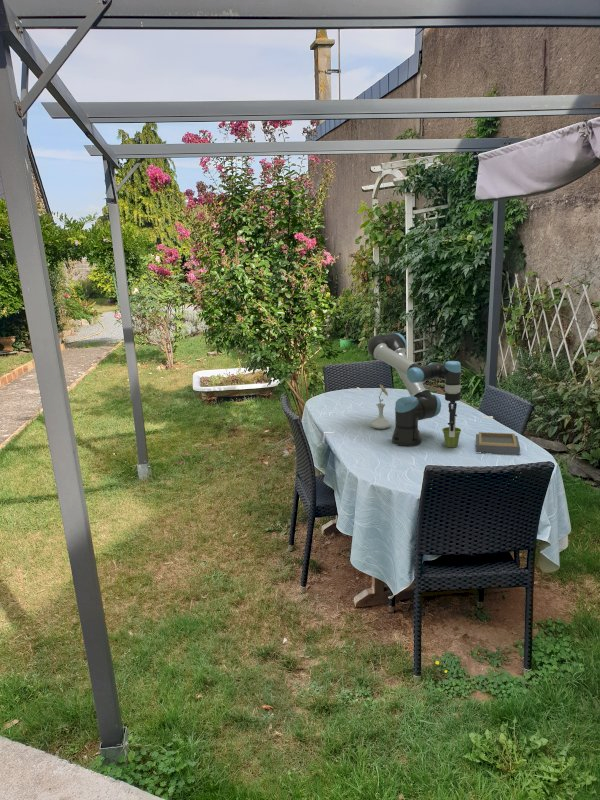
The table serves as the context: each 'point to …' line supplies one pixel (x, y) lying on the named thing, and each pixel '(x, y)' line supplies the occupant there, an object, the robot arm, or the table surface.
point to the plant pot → (451, 440)
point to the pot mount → (497, 443)
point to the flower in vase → (381, 415)
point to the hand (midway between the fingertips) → (452, 433)
